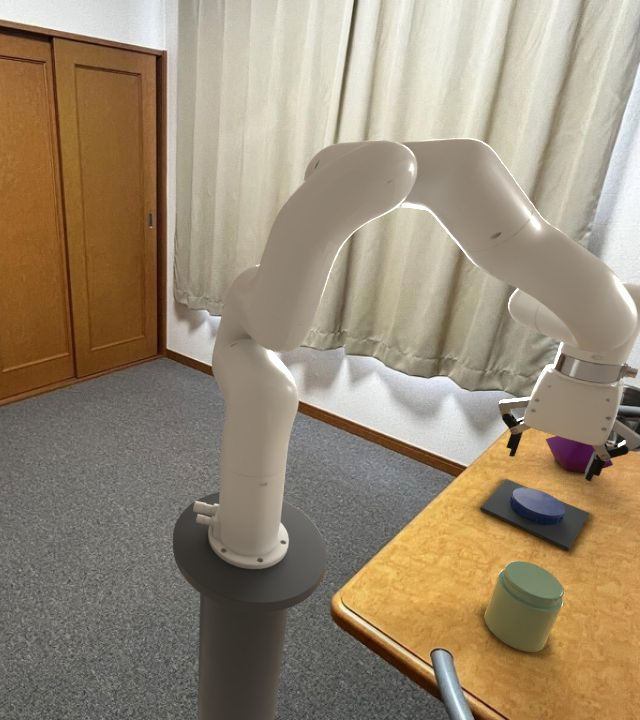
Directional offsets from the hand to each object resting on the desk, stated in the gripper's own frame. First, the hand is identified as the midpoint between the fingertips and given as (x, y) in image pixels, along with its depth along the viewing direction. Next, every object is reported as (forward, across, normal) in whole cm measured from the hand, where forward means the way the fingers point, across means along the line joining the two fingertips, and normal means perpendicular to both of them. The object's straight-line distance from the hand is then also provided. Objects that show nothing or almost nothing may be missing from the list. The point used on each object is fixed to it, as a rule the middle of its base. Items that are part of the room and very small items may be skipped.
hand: (548, 464), depth 76 cm
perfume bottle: (+10, -5, -21) cm, 24 cm away
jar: (+10, -1, +27) cm, 29 cm away
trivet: (+10, 0, 0) cm, 10 cm away
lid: (+8, 0, 0) cm, 8 cm away
